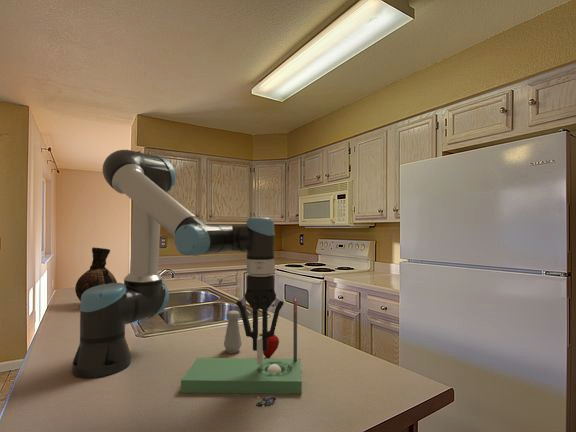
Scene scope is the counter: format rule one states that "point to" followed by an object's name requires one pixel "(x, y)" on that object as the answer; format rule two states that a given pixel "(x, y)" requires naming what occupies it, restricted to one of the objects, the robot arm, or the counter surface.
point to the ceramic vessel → (95, 273)
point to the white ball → (274, 369)
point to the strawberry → (271, 346)
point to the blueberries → (266, 401)
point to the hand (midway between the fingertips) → (260, 362)
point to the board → (245, 374)
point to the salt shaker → (232, 333)
